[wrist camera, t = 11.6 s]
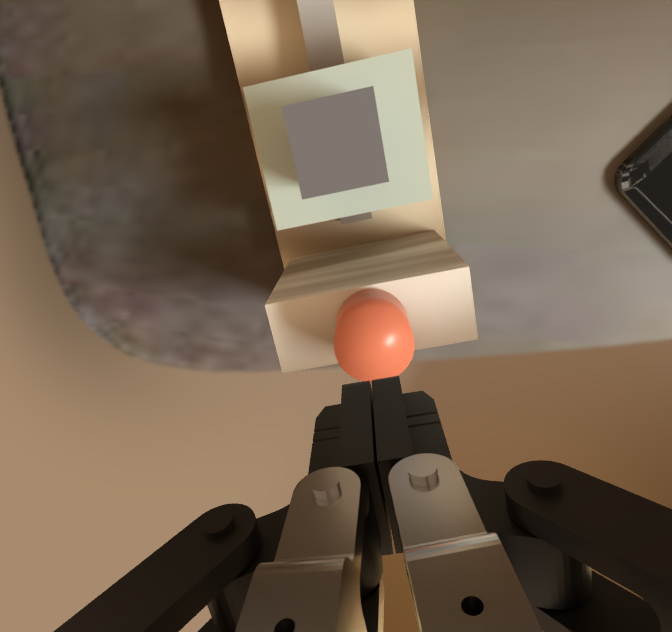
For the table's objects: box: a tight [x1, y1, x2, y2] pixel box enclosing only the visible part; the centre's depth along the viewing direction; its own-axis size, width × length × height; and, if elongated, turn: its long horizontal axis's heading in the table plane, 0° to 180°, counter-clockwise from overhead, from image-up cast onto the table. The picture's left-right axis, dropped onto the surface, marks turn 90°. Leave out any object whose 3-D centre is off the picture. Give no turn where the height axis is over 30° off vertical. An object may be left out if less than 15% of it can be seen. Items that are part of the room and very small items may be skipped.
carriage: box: [243, 48, 433, 231], centre depth 20 cm, size 6×7×8 cm
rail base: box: [219, 0, 478, 373], centre depth 22 cm, size 22×9×10 cm, turn 12°
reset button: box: [334, 289, 415, 383], centre depth 19 cm, size 3×3×2 cm
